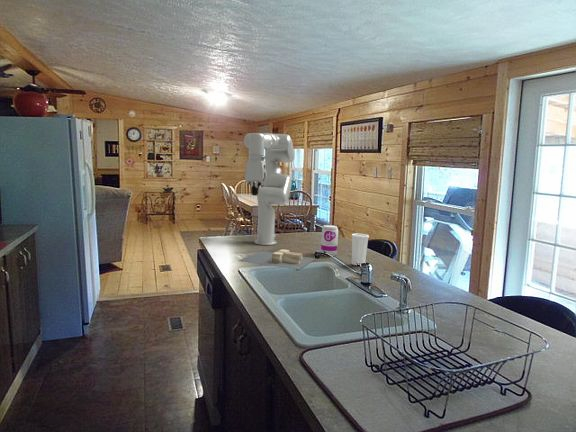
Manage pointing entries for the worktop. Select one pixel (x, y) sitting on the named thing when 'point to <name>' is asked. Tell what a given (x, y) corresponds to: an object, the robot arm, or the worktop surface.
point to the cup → (359, 248)
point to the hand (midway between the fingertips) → (254, 195)
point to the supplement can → (329, 239)
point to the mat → (266, 259)
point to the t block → (286, 257)
